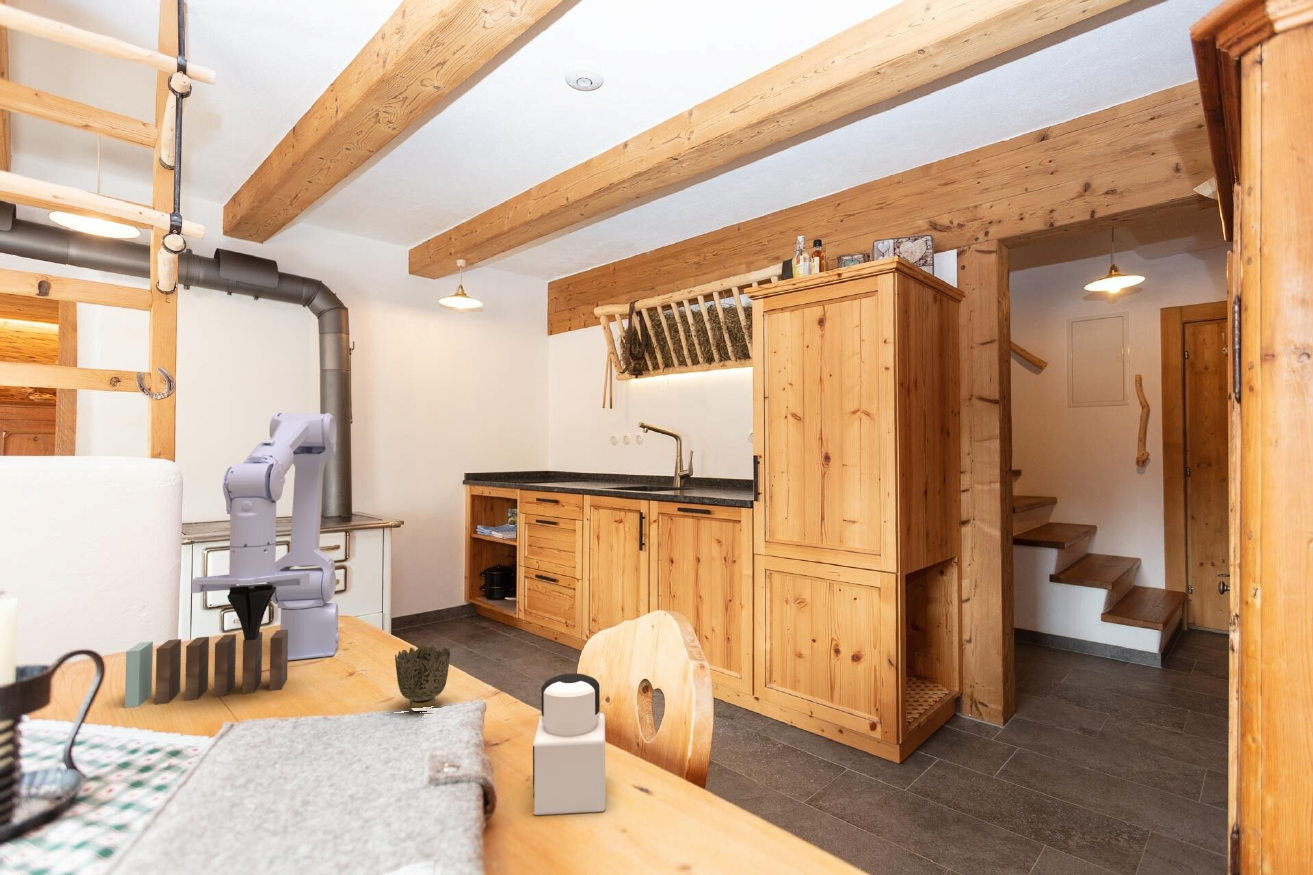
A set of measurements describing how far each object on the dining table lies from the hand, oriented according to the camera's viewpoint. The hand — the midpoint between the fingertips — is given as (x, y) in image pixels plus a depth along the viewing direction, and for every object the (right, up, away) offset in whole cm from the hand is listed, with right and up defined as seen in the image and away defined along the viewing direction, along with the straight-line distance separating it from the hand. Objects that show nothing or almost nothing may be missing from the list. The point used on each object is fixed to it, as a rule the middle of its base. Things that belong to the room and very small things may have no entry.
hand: (251, 638), depth 93 cm
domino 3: (-11, -10, +4) cm, 15 cm away
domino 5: (-4, -10, +6) cm, 12 cm away
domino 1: (-17, -10, +1) cm, 20 cm away
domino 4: (-7, -10, +5) cm, 13 cm away
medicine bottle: (+50, -8, -27) cm, 57 cm away
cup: (+26, -9, -3) cm, 28 cm away
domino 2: (-14, -10, +2) cm, 17 cm away
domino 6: (-1, -10, +7) cm, 12 cm away
